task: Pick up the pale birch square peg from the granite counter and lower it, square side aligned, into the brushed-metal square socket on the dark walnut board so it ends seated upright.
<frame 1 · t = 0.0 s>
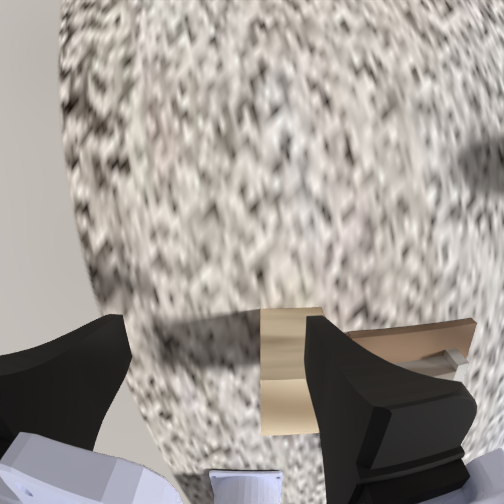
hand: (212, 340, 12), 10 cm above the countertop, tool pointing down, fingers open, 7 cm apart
birch peg: (290, 334, 23), on the countertop
socket board: (400, 390, 25), on the countertop
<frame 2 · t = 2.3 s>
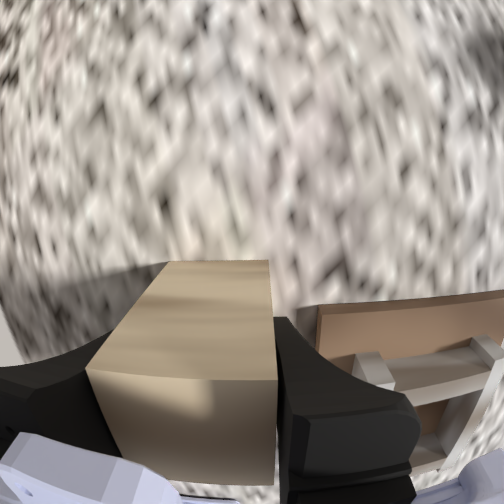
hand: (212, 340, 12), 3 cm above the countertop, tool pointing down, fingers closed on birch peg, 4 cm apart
birch peg: (220, 306, 14), on the countertop, touching gripper
socket board: (403, 400, 16), on the countertop
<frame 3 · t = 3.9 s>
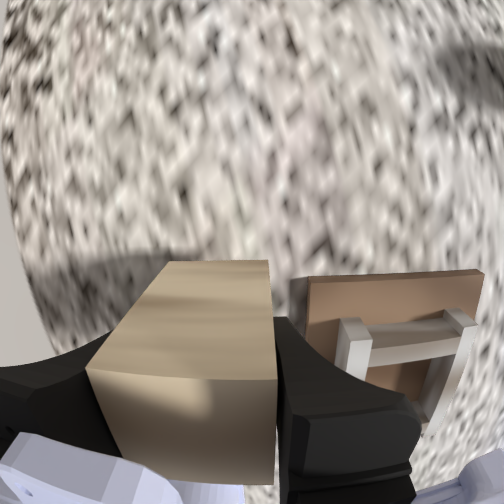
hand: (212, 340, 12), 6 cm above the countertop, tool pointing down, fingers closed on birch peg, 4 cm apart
birch peg: (220, 306, 14), point 3 cm above the countertop, touching gripper
socket board: (386, 367, 19), on the countertop
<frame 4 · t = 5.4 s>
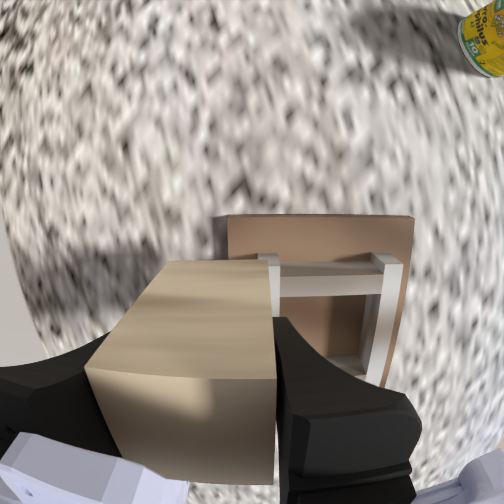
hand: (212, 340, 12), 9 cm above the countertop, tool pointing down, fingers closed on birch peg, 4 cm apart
supplement bottle: (479, 47, 16), on the countertop
birch peg: (220, 305, 14), point 6 cm above the countertop, touching gripper
socket board: (318, 314, 22), on the countertop
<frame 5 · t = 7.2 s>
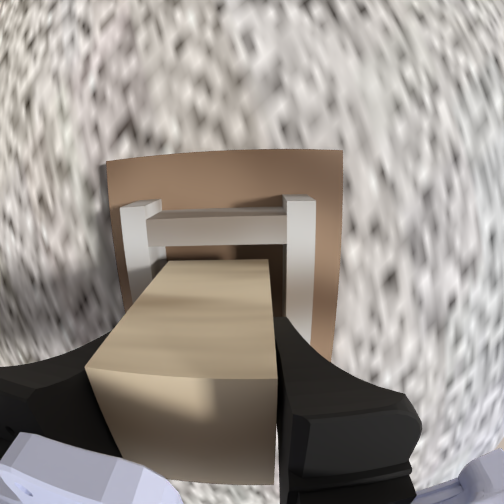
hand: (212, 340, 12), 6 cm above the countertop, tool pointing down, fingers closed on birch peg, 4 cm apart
birch peg: (220, 305, 14), point 3 cm above the countertop, touching gripper
socket board: (226, 281, 18), on the countertop
when the fingers open (5 cm above the countertop, at t = 8.6 s): birch peg drops 1 cm, resting on socket board.
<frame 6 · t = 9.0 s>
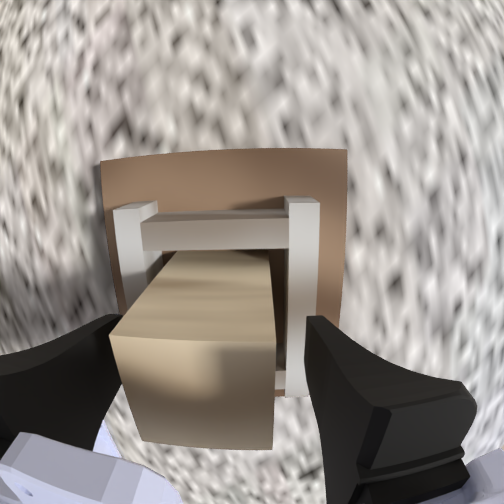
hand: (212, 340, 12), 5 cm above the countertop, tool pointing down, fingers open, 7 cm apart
birch peg: (224, 292, 16), point 1 cm above the countertop, touching socket board
socket board: (225, 285, 17), on the countertop
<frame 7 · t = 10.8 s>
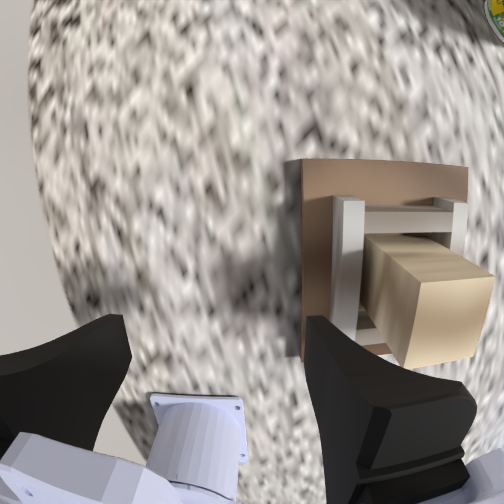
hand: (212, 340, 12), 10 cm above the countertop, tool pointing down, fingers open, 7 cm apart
supplement bottle: (502, 24, 14), on the countertop
birch peg: (391, 267, 20), point 1 cm above the countertop, touching socket board
socket board: (386, 263, 21), on the countertop
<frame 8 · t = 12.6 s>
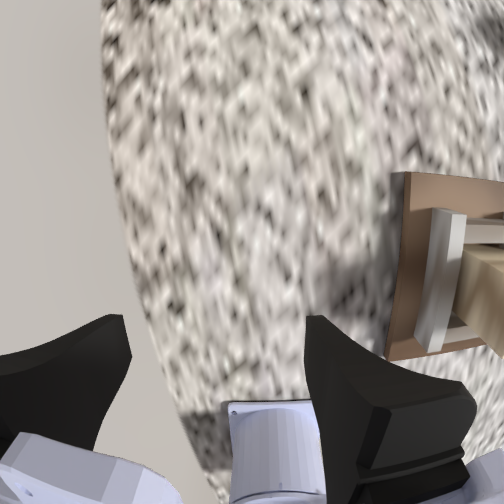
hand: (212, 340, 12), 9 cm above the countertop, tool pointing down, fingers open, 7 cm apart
birch peg: (469, 272, 19), point 1 cm above the countertop, touching socket board
socket board: (462, 268, 20), on the countertop
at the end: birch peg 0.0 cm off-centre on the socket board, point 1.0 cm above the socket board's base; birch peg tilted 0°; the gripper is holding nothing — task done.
